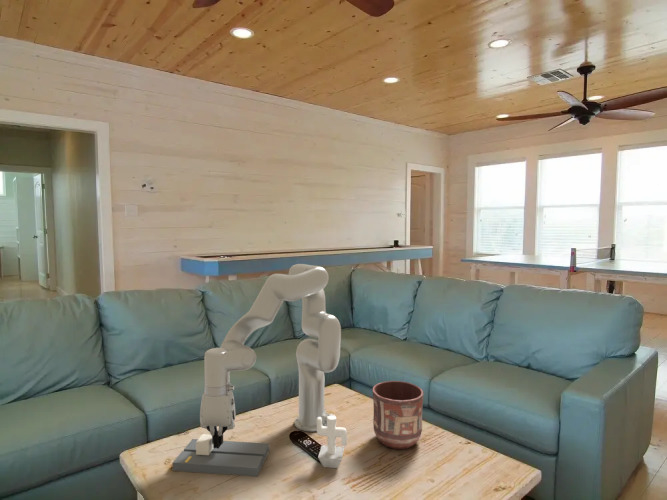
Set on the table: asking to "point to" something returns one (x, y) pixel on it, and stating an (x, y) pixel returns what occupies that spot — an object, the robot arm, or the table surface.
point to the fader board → (224, 459)
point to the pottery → (397, 413)
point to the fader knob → (204, 445)
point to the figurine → (331, 442)
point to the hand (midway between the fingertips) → (217, 446)
